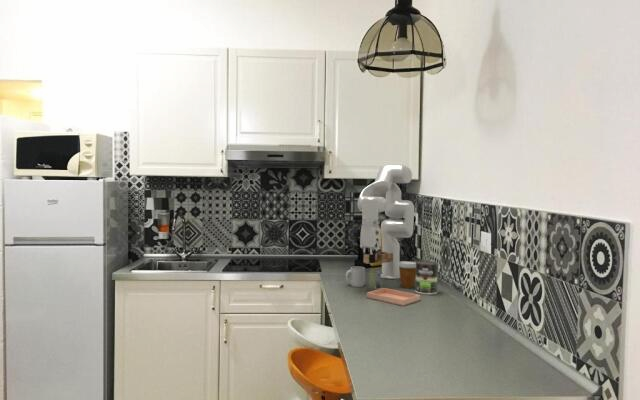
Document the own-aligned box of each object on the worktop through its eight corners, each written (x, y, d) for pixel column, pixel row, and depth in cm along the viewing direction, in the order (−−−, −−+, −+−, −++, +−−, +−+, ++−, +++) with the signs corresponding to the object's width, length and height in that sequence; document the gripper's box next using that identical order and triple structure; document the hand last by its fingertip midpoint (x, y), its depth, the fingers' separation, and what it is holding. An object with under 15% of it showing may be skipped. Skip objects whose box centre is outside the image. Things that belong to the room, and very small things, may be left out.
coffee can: (436, 295, 215) (436, 265, 214) (413, 293, 218) (414, 263, 218) (438, 290, 224) (439, 261, 224) (416, 288, 228) (417, 260, 227)
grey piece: (377, 287, 230) (377, 270, 230) (384, 288, 227) (384, 271, 227) (372, 288, 227) (372, 271, 227) (379, 290, 224) (379, 272, 224)
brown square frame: (381, 259, 231) (381, 251, 231) (392, 261, 225) (393, 253, 224) (360, 262, 223) (360, 253, 222) (371, 264, 216) (371, 255, 216)
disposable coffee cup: (420, 286, 234) (421, 262, 233) (410, 289, 226) (411, 264, 226) (404, 283, 240) (404, 260, 239) (394, 286, 233) (394, 262, 232)
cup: (366, 286, 232) (366, 268, 232) (347, 287, 230) (347, 269, 230) (362, 283, 239) (362, 266, 239) (343, 284, 237) (343, 266, 237)
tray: (384, 293, 218) (384, 287, 218) (420, 300, 205) (420, 294, 205) (366, 298, 209) (366, 292, 208) (403, 306, 195) (403, 300, 195)
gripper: (388, 224, 216) (387, 264, 217) (364, 221, 229) (364, 259, 230) (376, 225, 211) (375, 265, 212) (352, 222, 225) (352, 260, 225)
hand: (369, 261), depth 221 cm, fingers closed on brown square frame, 3 cm apart
